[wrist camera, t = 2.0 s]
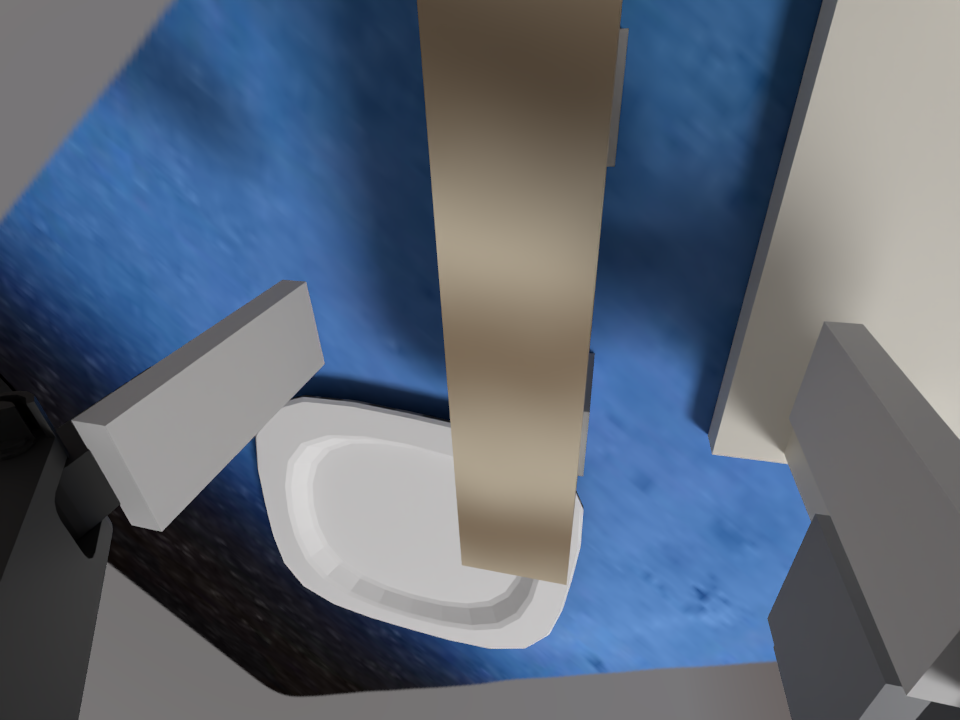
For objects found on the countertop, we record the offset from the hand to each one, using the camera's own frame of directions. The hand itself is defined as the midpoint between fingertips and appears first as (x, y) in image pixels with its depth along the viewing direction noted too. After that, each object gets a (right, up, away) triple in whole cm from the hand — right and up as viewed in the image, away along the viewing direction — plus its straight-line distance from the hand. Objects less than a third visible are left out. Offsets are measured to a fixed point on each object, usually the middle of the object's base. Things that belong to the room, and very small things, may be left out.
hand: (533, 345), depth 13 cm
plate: (-5, -10, +16) cm, 20 cm away
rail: (0, +1, +2) cm, 3 cm away
